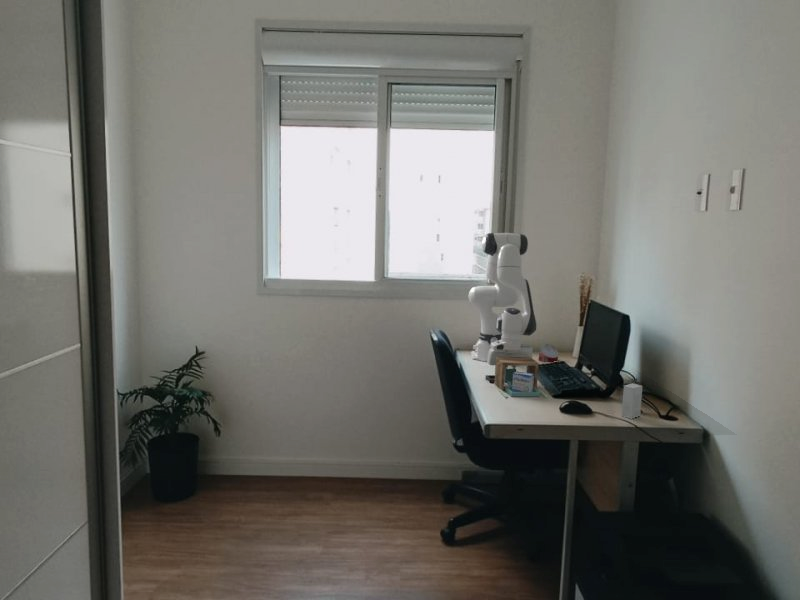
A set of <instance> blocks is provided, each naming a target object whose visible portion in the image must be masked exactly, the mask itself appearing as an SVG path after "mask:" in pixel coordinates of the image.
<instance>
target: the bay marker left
mask: <svg viewBox="0 0 800 600" xmlns="http://www.w3.org/2000/svg"><path fill="white" fill-rule="evenodd" d="M498 392H499V393H500V394H501V395H502V397H504V398H505V399H509V396H508V395H507V393H506V392H505V391H502V390H501V389H499V388H498Z"/></svg>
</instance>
